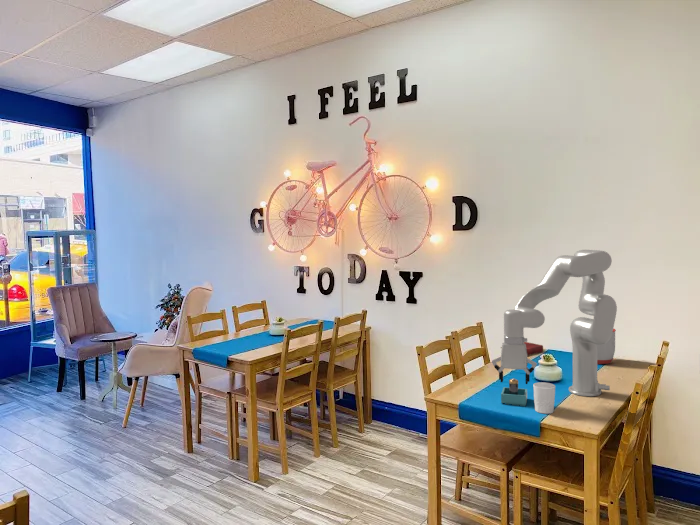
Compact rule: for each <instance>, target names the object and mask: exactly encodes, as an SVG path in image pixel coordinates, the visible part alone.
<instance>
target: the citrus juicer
mask: <svg viewBox="0 0 700 525" xmlns="http://www.w3.org/2000/svg"><path fill="white" fill-rule="evenodd" d="M596 347H597V365H605V364H606V365H607V364H611V363H612V362H613V360H614V356H615V352H616V329H615V328H613V332H612V336H611V338H610V340H609V341H608V342H607V343H606V344H603V345H598V344H596Z"/></svg>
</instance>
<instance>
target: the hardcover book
mask: <svg viewBox="0 0 700 525" xmlns="http://www.w3.org/2000/svg"><path fill="white" fill-rule="evenodd" d="M524 344H526V349H527V356H530V354H531V355H534V354H539V353H542V352H544V345H543V344H539V343H533V342H528V341H527V342H524ZM500 349H502V346H500Z"/></svg>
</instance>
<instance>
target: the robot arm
mask: <svg viewBox="0 0 700 525" xmlns="http://www.w3.org/2000/svg"><path fill="white" fill-rule="evenodd" d="M611 266H612V257H611V255H610V253H608V252H606V251H605V250H600V249H599V250H597V249H596V250H595V249H594V250H593V249H580V250H577V251H576V252H575V253H574V254H573V255H562V254H561V255H559V256H557V257H556V258H555V259H554V260H553V262H552V264H551V265H550V267H549V268H548V269H547V271H546V273H545V274H544V275H543V277H542V279H541V280H540V281H539V283H538V284H536V285H535V286H534V287H532V288H531V289H530V290H528V291H527V292H526V293H525V294H523V296H522V297H521V298H520V299H519V301H518V303H517V304H516V306H515V308H514V309H507V310H505V311H504V312H503V342H502V344H501V347H502V348H501V352H500V356H499V357H497V358H495V359H492V360H491V363H492V365H493V366H494V368H495V370H496V371H497V372H498V379H499V380H500V383H503V381H504V369H506V370H507V369H509V370H510V369H511V370H522V371H524V373H525V385H528V383H530V378H531V376H530V374H531V373H533V372H534V370H535V369H536V367H537V362H536V361H533V360H532V359H530V358H528V355H527V349H526V344H524V342H528V338H527V337H525V336H524V335H525V334H524V332H525V331H524V328H527V329H529V328H530V329H537V328H540V327H541V326H543V325H544V323H545V321H546V318H545V315H544V313H543V312H542V311H540V310H538V309H535V308H536V307H537V306H538V305H539V304H540V303H542V302H544V301H547V300H549V299H552V298H554V297H557V296H558V295H559V294H560V292H562V290H563V288H564V287H565V285H566V284H567V282H568V280H570V277H571V278H572V277H573V278H582V282H581V283H582V284H581V290H580V295H579V300H578V309H579V311H580V312H581V313H582V314H583V315H584V314H586V315H589V316H593V318H589V317H585V316H584V317H583V316H582V317H576V318H575V319H573V320H572V321H571V323H570V325H569V331H570V332H569V333H570V338H571V342H572V343H571V344H572V385H571V386H569V387H568V391H569V392H570V393H571V394H574V395H575V396H581V397H596V396H600V395H601V394H602V390H603V391H604V390H605V391H610V389H611V388H610V386H611V385H607V384H605V383H602V384H601V383H600V382H599V380H598V364H597V347H596V344H598V345H603V344H606V343H607V342H608V341H609V340H610V338H611V336H612V332H613V328H614V326H615V323H616V322H615V321H616V318H617V311H618V309H617V308H618V307H617V302H616V300H615V298H613V297H612V296H610V295H608V294H605V293H604V291H605V285H606V284H605V283H606V278H605V275H604V272H605V271H607V270H608V269H609V268H611ZM614 329H615V328H614ZM498 362H500V366H499V365H498ZM528 364H530V365H531V367H530V368H529V367H528Z"/></svg>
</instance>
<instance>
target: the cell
mask: <svg viewBox="0 0 700 525" xmlns="http://www.w3.org/2000/svg"><path fill="white" fill-rule="evenodd" d="M508 384H509V385H508V388H509V394H513V395H518V388H519V380H518V379H516V378H510V379H509V380H508Z"/></svg>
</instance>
